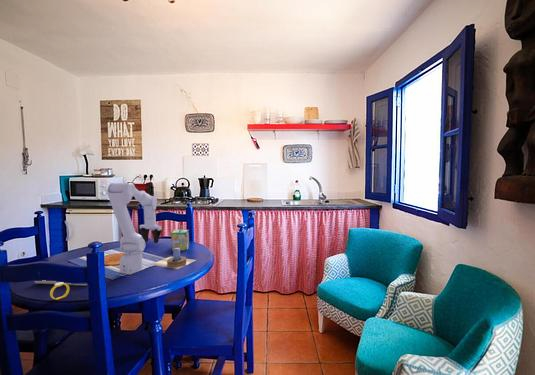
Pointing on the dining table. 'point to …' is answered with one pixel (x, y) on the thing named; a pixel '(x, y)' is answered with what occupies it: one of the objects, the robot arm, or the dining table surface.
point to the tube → (55, 283)
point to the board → (164, 264)
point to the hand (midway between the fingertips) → (151, 242)
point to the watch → (58, 286)
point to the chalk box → (180, 239)
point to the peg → (176, 254)
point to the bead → (176, 262)
